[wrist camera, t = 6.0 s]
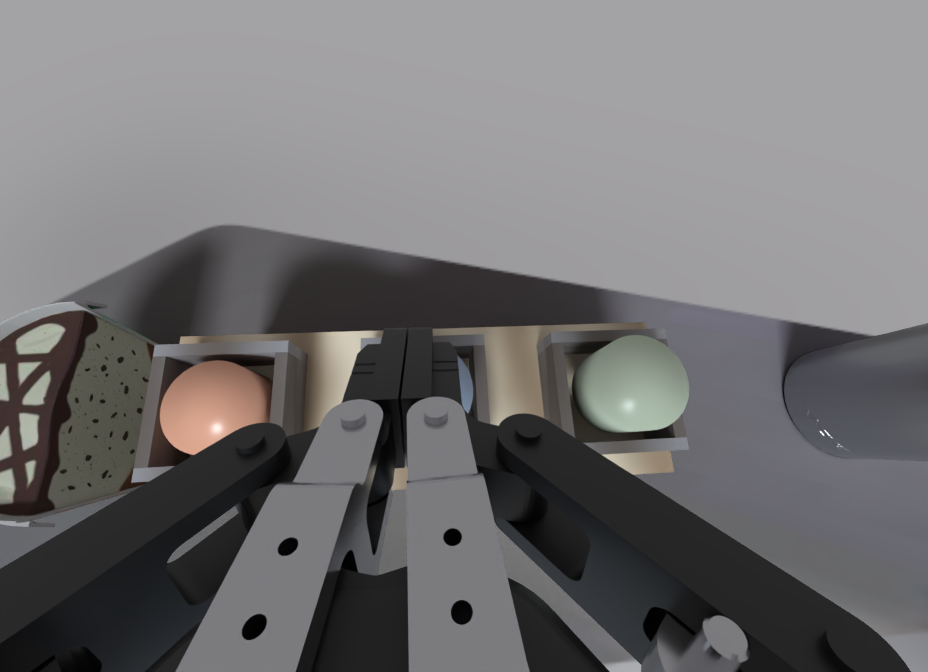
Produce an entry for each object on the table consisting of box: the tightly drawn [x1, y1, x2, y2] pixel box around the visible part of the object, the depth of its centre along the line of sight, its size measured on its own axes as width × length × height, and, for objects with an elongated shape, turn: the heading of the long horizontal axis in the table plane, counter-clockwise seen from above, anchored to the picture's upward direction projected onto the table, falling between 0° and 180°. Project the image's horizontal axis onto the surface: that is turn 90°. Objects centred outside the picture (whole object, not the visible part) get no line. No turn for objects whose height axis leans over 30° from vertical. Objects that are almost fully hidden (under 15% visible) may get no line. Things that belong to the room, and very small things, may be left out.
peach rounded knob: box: [160, 360, 273, 455], centre depth 20 cm, size 4×4×3 cm
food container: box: [0, 301, 159, 527], centre depth 24 cm, size 12×6×10 cm, turn 2°
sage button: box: [572, 335, 689, 433], centre depth 19 cm, size 4×4×3 cm
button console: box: [131, 322, 689, 490], centre depth 25 cm, size 28×9×12 cm, turn 93°
